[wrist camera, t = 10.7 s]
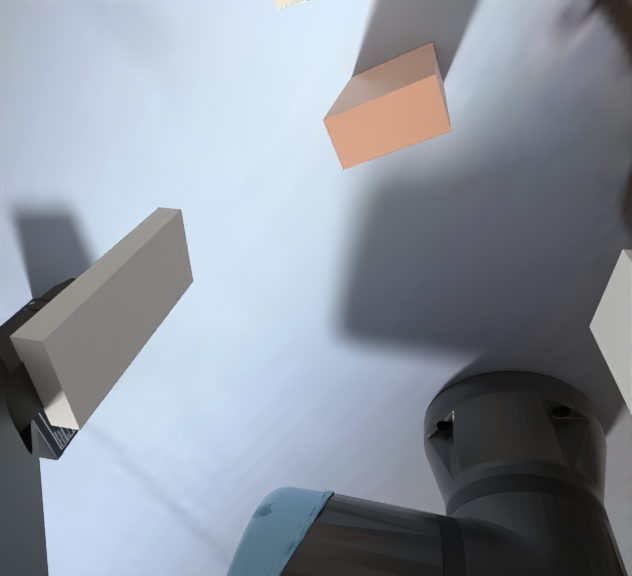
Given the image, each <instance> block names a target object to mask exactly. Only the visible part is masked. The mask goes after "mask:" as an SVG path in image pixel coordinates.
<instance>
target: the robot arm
mask: <svg viewBox="0 0 632 576" xmlns="http://www.w3.org/2000/svg"><path fill="white" fill-rule="evenodd" d="M192 282H193V277H192V271H191V265H190V259H189V253H188V248H187V242H186V236H185V230H184V224H183V218H182V212H181V209H171V208H160V207H159V208H158V209H157V210H155V211H154V212H153V213H152V214H151V215H150V216H148V217H147V218H146V219H145V220H144V221H143V222H142V223H140V224H139V225H138V226H137V227H136V228H135V229H133V230H132V231H131V232H130V233H129V234H128V235H127V236H125V237H124V238H123V239H122V240H121V241H120V242H118V243H117V244H116V245H115V246H114V247H113V248H111V249H110V250H109V251H108V252H107V253H106V254H105V255H103V256H102V257H101V258H100V259H99V260H98V261H96V262H95V263H94V264H93V265H92V266H91V267H90V268H88V269H87V270H86V271H85V272H84V273H83V274H81V275H80V276H79V277H78V278H77V279H76V278H71V279H69V280H67V281H65V282H63V283H61V284H59V285H57V286H55V287H53V288H52V289H51V290H49V291H48V292H47V293H46V294H45V295H43V296H42V297H41V298H40V300H39V301H36V302H35V303H34V304H33V305H31V306H30V307H29V308H28V311H24V312H23V313H22V314H21V315H19V316H18V317H17V318H16V319H15V320H13V321H12V322H11V323H10V324H9V325H7V326H6V327H5V328H4V329H3V330H1V331H0V576H48V564H47V551H46V538H45V525H44V512H43V500H42V487H41V474H40V461H39V448H38V435H37V429H36V427H35V424H34V422H33V419H34V418H35V417H36V416H37V415H38V414H39V412H40V411H41V410H42V409H44V411H45V413H46V415H47V417H48V420H49V422H50V424H51V425H53V426H59V427H64V428H70V429H76V430H81V428H82V427H83V426H84V424H85V423H86V422H87V420H88V419H89V418H90V416H91V415H92V414H93V412H94V411H95V410H96V408H97V407H98V406H99V405H100V403H101V402H102V401H103V399H104V398H105V397H106V395H107V394H108V393H109V391H110V390H111V389H112V387H113V386H114V385H115V383H116V382H117V381H118V380H119V378H120V377H121V376H122V374H123V373H124V372H125V370H126V369H127V368H128V366H129V365H130V364H131V362H132V361H133V360H134V358H135V357H136V356H137V355H138V353H139V352H140V351H141V349H142V348H143V347H144V345H145V344H146V343H147V341H148V340H149V339H150V337H151V336H152V335H153V333H154V332H155V331H156V330H157V328H158V327H159V326H160V324H161V323H162V322H163V320H164V319H165V318H166V316H167V315H168V314H169V312H170V311H171V310H172V308H173V307H174V306H175V305H176V303H177V302H178V301H179V299H180V298H181V297H182V295H183V294H184V293H185V291H186V290H187V289H188V287H189V286H190V285H191V283H192ZM590 329H591V331H592V333H593V335H594V337H595V340H596V342H597V344H598V346H599V348H600V350H601V352H602V354H603V356H604V358H605V360H606V362H607V364H608V367H609V369H610V371H611V373H612V375H613V377H614V379H615V381H616V383H617V385H618V387H619V389H620V391H621V394H622V396H623V398H624V400H625V402H626V404H627V406H628V408H629V410H630V412H631V414H632V250H625V249H623V250H622V252H621V254H620V257H619V259H618V261H617V264H616V266H615V268H614V271H613V273H612V275H611V278H610V280H609V282H608V285H607V287H606V289H605V292H604V294H603V296H602V299H601V301H600V303H599V306H598V308H597V310H596V313H595V315H594V317H593V320H592V322H591V324H590ZM424 447H425V452H426V456H427V458H428V461H429V463H430V466H431V469H432V471H433V474H434V476H435V479H436V482H437V484H438V487H439V489H440V492H441V495H442V497H443V500H444V502H445V505H446V516H443V515H438V514H434V513H430V512H425V511H420V510H415V509H410V508H405V507H400V506H395V505H390V504H385V503H380V502H375V501H370V500H365V499H360V498H355V497H350V496H345V495H340V494H335V493H334V492H333V491H329V490H327V491H325V492H321V491H314V490H307V489H300V488H293V487H283V488H279V489H277V490H274V491H273V492H271V493H270V494H269V495H268V496H266V497H265V499H264V500H263V501H262V502H261V503H260V505H259V506H258V508H257V509H256V511H255V513H254V514H253V516H252V518H251V520H250V522H249V524H248V526H247V528H246V530H245V532H244V534H243V536H242V538H241V541H240V543H239V545H238V547H237V550H236V552H235V555H234V557H233V560H232V562H231V565H230V567H229V570H228V573H227V575H226V576H628V574H627V572H626V569H625V566H624V563H623V560H622V557H621V554H620V551H619V548H618V545H617V542H616V539H615V537H614V534H613V531H612V528H611V525H610V522H609V519H608V516H607V513H606V510H605V507H604V488H605V467H606V439H605V434H604V431H603V429H602V426H601V423H600V421H599V418H598V416H597V413H596V411H595V409H594V407H593V406H592V404H591V403H590V402H589V400H588V399H587V398H586V397H585V396H583V395H582V394H581V393H580V392H579V391H577V390H576V389H574V388H573V387H571V386H569V385H567V384H565V383H563V382H561V381H558V380H556V379H553V378H550V377H546V376H542V375H538V374H532V373H524V372H497V373H489V374H484V375H479V376H475V377H472V378H469V379H466V380H463V381H461V382H459V383H457V384H455V385H453V386H451V387H449V388H448V389H446V390H445V391H443V392H442V393H441V394H440V395H439V396H438V397H437V398H436V399H435V400H434V401H433V402H432V404H431V405H430V407H429V408H428V410H427V412H426V415H425V419H424Z"/></svg>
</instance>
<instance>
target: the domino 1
mask: <svg viewBox="0 0 632 576" xmlns="http://www.w3.org/2000/svg"><path fill="white" fill-rule="evenodd" d="M305 1H309V0H274V2H275V4H276V7H277V9H281V8H285V7H288V6H292V5H295V4H298V3H302V2H305Z"/></svg>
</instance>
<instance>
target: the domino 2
mask: <svg viewBox="0 0 632 576" xmlns="http://www.w3.org/2000/svg"><path fill="white" fill-rule="evenodd" d="M323 121H324V124H325V126H326V129H327V131H328V134H329V136H330V138H331V141H332V143H333V146H334V148H335V151H336V153H337V156H338V158H339V161H340V163H341V165H342V168H343V170H344V169H346V168H349V167H352V166H355V165H358V164H360V163H363V162H366V161H369V160H372V159H374V158H377V157H380V156H383V155H385V154H388V153H391V152H394V151H397V150H399V149H402V148H405V147H408V146H411V145H413V144H416V143H419V142H422V141H425V140H427V139H430V138H433V137H436V136H439V135H441V134H444V133H447V132H450V131H451V127H450V120H449V114H448V108H447V102H446V96H445V90H444V83H443V80H442V76H441V72H440V69H439V65H438V61H437V57H436V54H435V50H434V46H433V43H432V42H430V43H428V44H425V45H423V46H421V47H418V48H416V49H414V50H412V51H409V52H407V53H405V54H402V55H400V56H398V57H396V58H393V59H391V60H389V61H386V62H384V63H382V64H380V65H377V66H375V67H373V68H370V69H368V70H366V71H363V72H361V73H359V74H357V75H354V76H352V77H351V79H350V80H349V82H348V83H347V85H346V86H345V88H344V89H343V91H342V92H341V94H340V95H339V97H338V98H337V100H336V101H335V103H334V104H333V106H332V107H331V109H330V110H329V112H328V113H327V115H326V116H325V118H324V120H323Z"/></svg>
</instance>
